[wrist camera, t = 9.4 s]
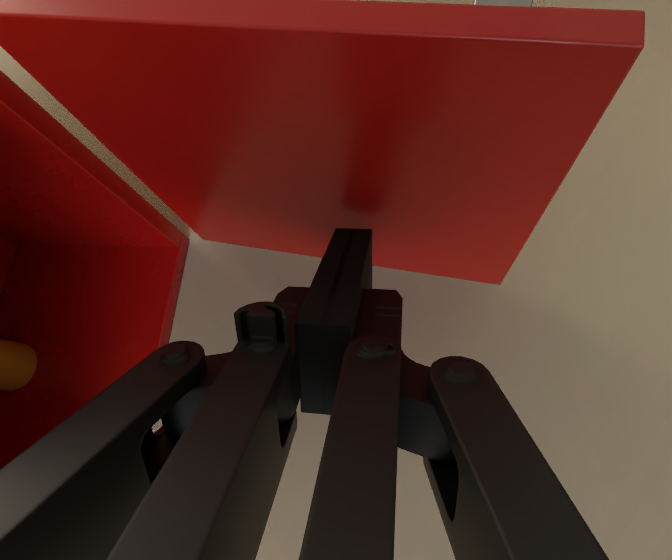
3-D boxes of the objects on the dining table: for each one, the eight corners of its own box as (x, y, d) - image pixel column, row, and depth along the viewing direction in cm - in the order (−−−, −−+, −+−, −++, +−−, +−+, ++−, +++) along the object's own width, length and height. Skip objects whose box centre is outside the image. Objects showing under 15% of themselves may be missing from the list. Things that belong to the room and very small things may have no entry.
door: (227, 160, 24) (41, -125, 12) (511, 192, 21) (651, -140, 9) (202, 239, 23) (-37, 12, 11) (500, 285, 20) (646, 46, 8)
